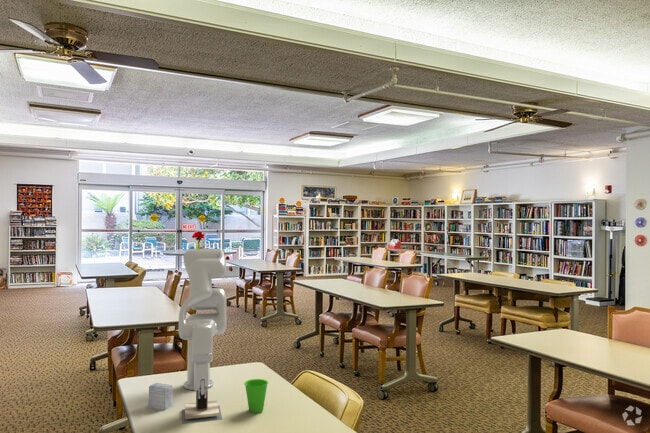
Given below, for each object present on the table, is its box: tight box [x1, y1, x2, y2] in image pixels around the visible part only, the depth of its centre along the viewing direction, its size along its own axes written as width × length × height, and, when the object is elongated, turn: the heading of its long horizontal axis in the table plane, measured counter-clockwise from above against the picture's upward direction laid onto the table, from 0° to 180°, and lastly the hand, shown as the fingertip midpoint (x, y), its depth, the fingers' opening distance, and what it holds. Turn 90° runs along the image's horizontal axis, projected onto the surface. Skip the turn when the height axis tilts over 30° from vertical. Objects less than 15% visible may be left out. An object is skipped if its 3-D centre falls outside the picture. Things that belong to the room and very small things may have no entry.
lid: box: [184, 388, 219, 419], centre depth 180 cm, size 12×12×8 cm
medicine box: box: [148, 382, 173, 411], centre depth 187 cm, size 8×4×9 cm, turn 71°
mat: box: [181, 405, 223, 425], centre depth 179 cm, size 14×14×1 cm
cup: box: [243, 378, 269, 414], centre depth 183 cm, size 9×9×11 cm
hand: (201, 405), depth 180 cm, fingers closed on lid, 4 cm apart
